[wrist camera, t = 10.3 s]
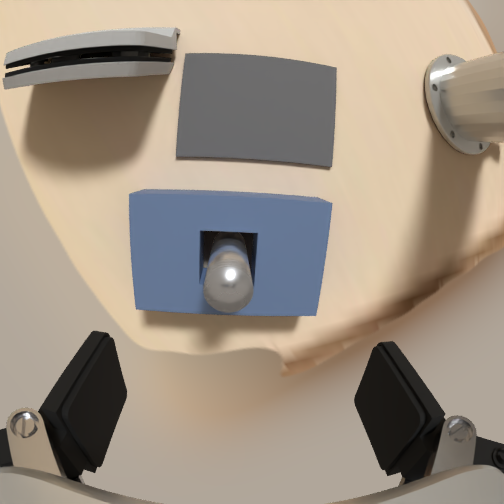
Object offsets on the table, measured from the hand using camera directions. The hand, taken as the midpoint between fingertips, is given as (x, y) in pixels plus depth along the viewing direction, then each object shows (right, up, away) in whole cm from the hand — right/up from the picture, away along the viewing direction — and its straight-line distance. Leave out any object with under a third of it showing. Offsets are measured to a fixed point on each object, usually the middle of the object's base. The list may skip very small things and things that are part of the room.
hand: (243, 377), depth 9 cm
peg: (-2, +5, +17) cm, 18 cm away
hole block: (-2, +5, +17) cm, 18 cm away
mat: (+1, +17, +14) cm, 22 cm away
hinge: (-15, +23, +11) cm, 30 cm away
